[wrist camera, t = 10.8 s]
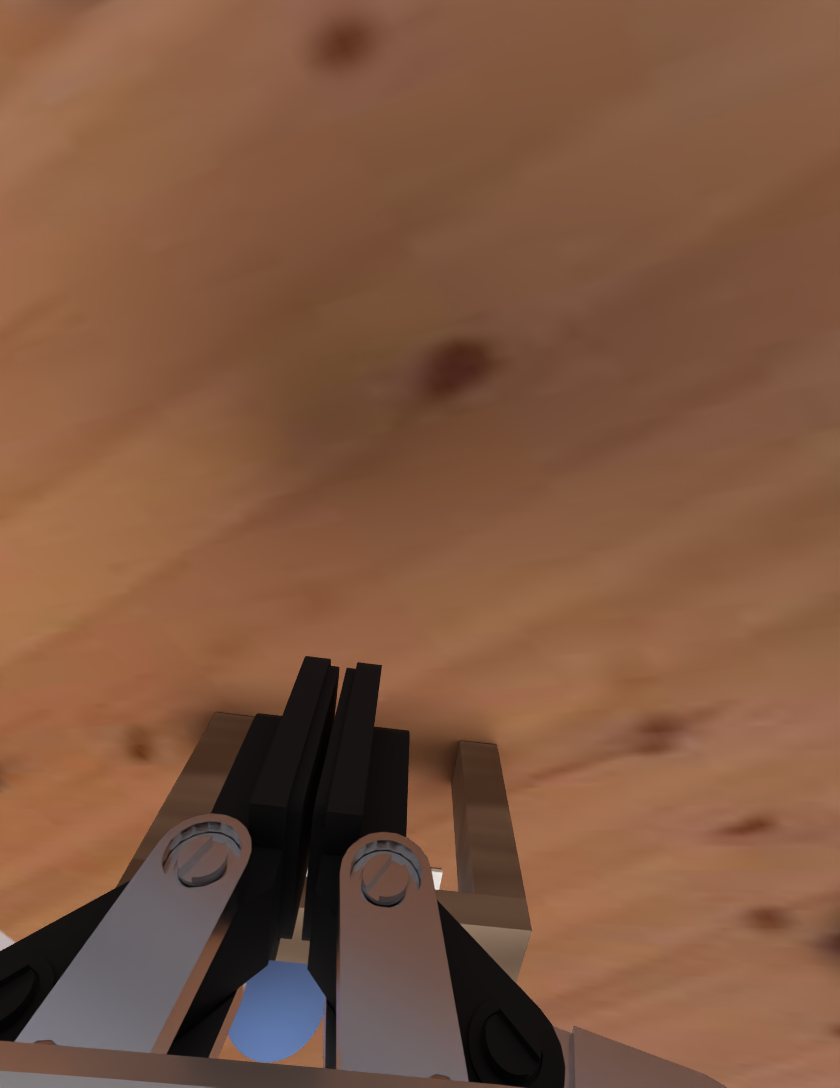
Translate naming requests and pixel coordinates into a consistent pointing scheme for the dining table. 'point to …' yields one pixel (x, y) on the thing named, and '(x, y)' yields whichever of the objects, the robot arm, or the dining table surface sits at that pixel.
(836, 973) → the dining table surface
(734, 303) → the dining table surface
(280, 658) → the dining table surface
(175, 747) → the dining table surface
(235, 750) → the bridge
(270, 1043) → the ball
